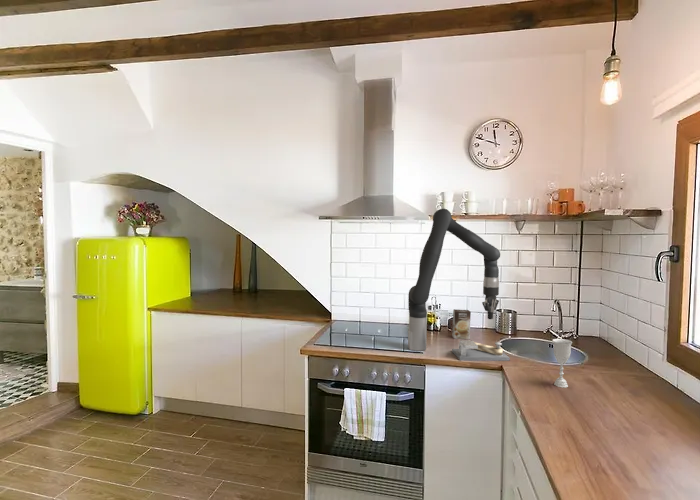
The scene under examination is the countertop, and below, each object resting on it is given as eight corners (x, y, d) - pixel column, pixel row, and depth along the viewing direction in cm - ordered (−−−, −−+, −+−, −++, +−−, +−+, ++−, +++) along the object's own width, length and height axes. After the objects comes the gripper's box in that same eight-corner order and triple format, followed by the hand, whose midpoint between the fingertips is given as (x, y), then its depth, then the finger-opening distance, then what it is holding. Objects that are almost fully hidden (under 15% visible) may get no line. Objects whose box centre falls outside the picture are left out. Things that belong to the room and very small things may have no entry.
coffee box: (454, 338, 225) (454, 311, 224) (452, 335, 231) (452, 309, 231) (470, 339, 224) (470, 311, 223) (467, 336, 231) (468, 309, 230)
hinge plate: (460, 360, 187) (460, 345, 186) (452, 351, 201) (452, 337, 200) (509, 360, 187) (510, 345, 187) (498, 351, 201) (498, 337, 201)
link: (504, 354, 191) (504, 349, 191) (500, 355, 188) (500, 350, 188) (471, 345, 204) (471, 341, 204) (467, 347, 202) (467, 342, 202)
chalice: (560, 389, 153) (561, 344, 152) (547, 382, 160) (548, 339, 159) (575, 387, 155) (576, 342, 154) (561, 381, 162) (563, 338, 161)
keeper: (462, 360, 186) (462, 345, 186) (457, 354, 195) (457, 340, 195) (477, 360, 186) (477, 345, 186) (471, 354, 195) (471, 340, 195)
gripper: (490, 283, 208) (490, 316, 208) (477, 286, 199) (476, 319, 200) (504, 285, 202) (503, 318, 203) (491, 287, 193) (490, 322, 194)
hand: (490, 318), depth 201 cm, fingers closed
